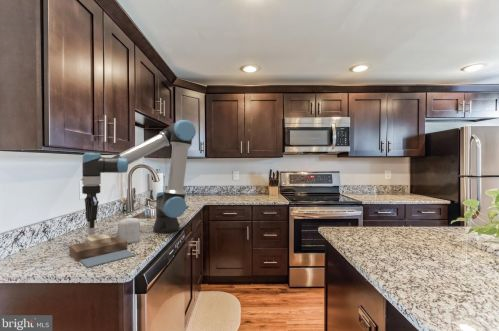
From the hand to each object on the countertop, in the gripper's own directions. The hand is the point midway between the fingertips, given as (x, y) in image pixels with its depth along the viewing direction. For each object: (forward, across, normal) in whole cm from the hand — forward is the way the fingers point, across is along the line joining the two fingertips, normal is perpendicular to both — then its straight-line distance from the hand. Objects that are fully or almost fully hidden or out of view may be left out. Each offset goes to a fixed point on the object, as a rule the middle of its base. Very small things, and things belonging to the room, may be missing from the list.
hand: (91, 234), depth 126 cm
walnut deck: (+6, +11, 0) cm, 13 cm away
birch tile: (+2, +10, 0) cm, 10 cm away
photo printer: (+6, +6, +16) cm, 18 cm away
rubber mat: (+6, +23, 0) cm, 23 cm away
